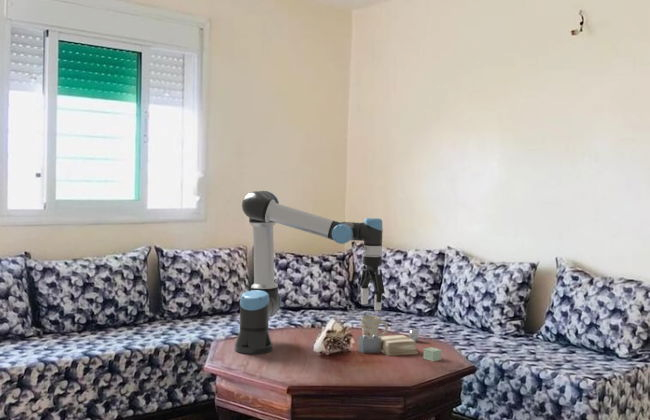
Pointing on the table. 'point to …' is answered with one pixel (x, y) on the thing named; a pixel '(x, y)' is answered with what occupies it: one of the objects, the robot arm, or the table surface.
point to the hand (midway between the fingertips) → (371, 307)
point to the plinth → (397, 345)
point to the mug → (372, 325)
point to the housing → (369, 344)
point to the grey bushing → (413, 334)
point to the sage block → (432, 354)
